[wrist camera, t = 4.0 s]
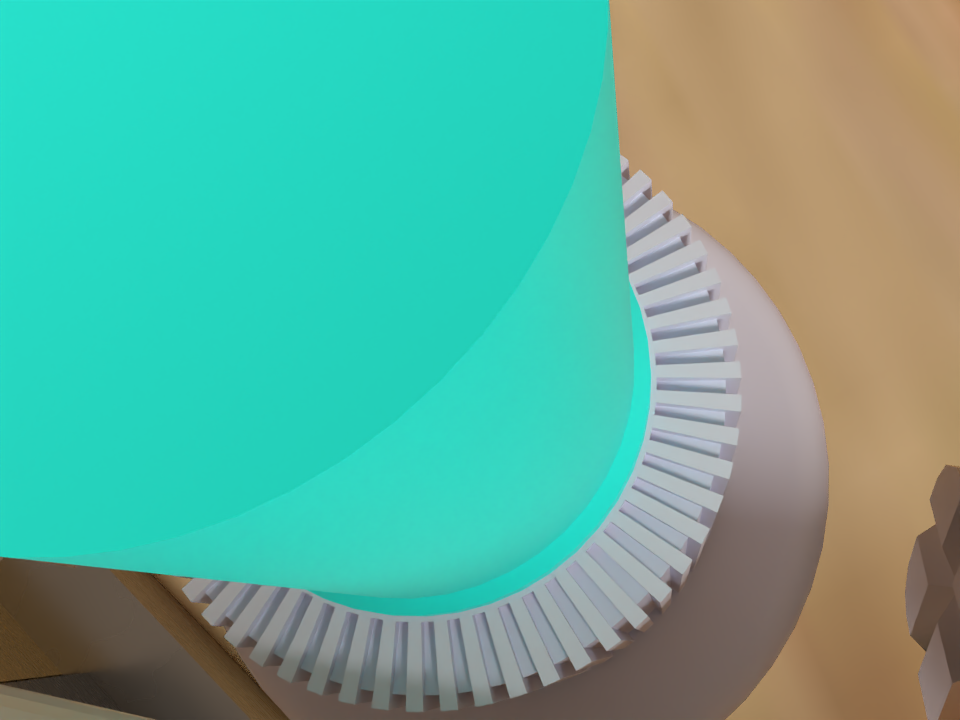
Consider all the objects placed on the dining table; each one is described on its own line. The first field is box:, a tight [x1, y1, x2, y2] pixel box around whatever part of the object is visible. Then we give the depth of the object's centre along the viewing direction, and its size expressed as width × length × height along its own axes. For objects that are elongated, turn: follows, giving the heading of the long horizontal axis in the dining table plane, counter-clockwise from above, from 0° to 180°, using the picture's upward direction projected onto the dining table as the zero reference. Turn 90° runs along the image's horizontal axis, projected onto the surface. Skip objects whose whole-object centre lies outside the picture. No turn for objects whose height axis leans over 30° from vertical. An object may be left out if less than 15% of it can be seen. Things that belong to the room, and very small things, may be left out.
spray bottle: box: [0, 0, 829, 720], centre depth 13 cm, size 6×6×22 cm
